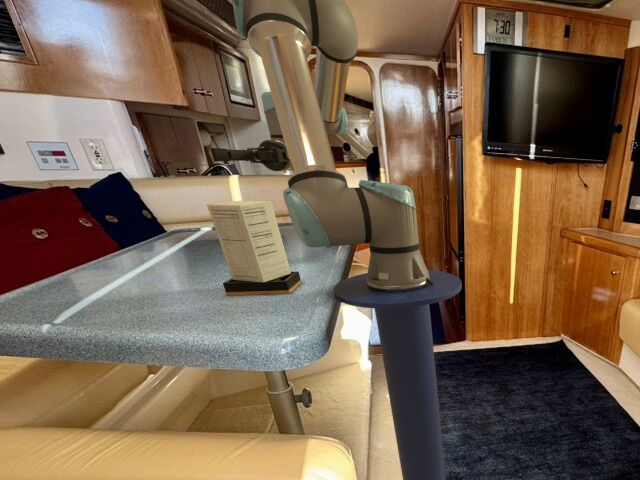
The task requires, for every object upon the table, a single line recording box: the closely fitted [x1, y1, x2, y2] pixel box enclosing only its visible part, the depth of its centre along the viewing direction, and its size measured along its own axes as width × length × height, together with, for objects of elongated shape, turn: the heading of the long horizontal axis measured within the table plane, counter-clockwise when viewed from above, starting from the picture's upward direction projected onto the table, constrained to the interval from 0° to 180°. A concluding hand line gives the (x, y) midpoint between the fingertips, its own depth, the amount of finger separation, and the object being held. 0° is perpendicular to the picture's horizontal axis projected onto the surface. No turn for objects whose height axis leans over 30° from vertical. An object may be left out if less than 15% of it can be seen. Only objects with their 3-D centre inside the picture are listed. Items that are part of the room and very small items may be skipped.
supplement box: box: [206, 200, 292, 282], centre depth 93 cm, size 10×9×17 cm
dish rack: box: [222, 271, 302, 296], centre depth 98 cm, size 14×10×3 cm
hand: (245, 154), depth 93 cm, fingers open, 13 cm apart
